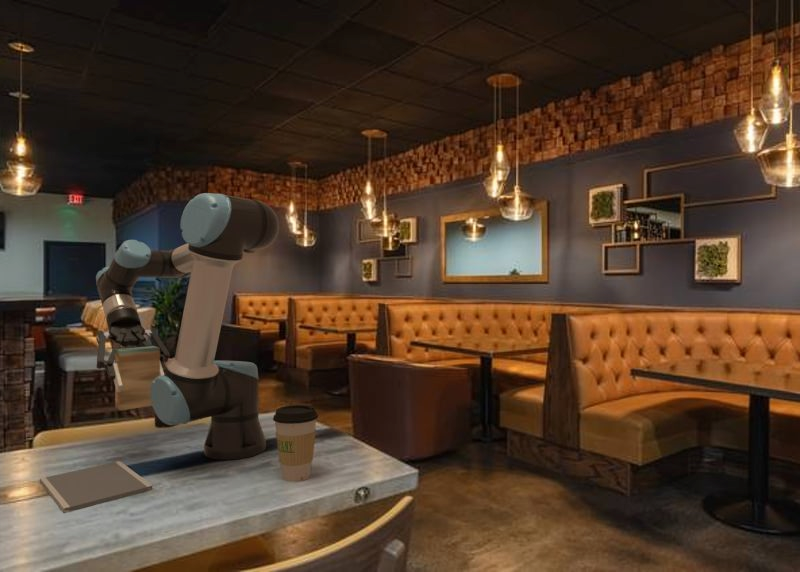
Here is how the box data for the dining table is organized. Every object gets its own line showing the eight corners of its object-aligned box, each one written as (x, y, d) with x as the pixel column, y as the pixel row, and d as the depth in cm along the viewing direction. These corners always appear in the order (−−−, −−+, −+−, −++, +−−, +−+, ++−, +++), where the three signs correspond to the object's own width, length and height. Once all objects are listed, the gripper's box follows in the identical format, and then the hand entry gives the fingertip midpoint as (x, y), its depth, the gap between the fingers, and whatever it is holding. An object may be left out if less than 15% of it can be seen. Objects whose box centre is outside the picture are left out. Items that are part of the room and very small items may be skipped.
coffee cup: (277, 469, 123) (276, 404, 123) (320, 468, 124) (319, 403, 124) (270, 485, 113) (269, 415, 113) (317, 484, 114) (316, 414, 114)
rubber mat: (40, 482, 116) (39, 478, 116) (119, 464, 127) (119, 460, 127) (63, 512, 100) (63, 508, 100) (152, 489, 111) (152, 485, 111)
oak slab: (115, 407, 128) (114, 349, 128) (154, 401, 134) (154, 346, 134) (120, 410, 125) (119, 351, 125) (160, 404, 131) (159, 347, 131)
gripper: (161, 323, 148) (183, 388, 137) (71, 328, 133) (87, 402, 122) (168, 304, 144) (191, 370, 133) (76, 307, 129) (93, 382, 118)
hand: (141, 386), depth 127 cm, fingers closed on oak slab, 9 cm apart
